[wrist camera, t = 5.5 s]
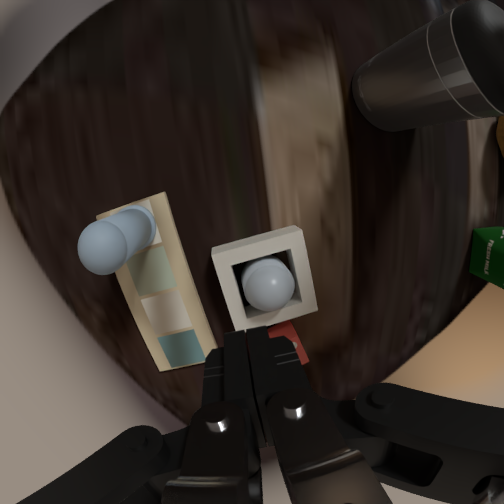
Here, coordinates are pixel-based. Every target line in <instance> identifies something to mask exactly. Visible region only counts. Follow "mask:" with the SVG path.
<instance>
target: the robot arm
mask: <svg viewBox="0 0 504 504" xmlns="http://www.w3.org/2000/svg"><path fill="white" fill-rule="evenodd" d="M352 92H353V97H354V100H355V103H356V105H357V107H358V109H359V110H360V112H361V113H362V115H363V116H364V117H365V118H366V119H367V120H368V121H369V122H370V123H371V124H372V125H374V126H376V127H377V128H379V129H382V130H384V131H389V132H395V131H402V130H407V129H412V128H419V127H424V126H430V125H436V124H443V123H450V122H457V121H464V120H472V119H480V118H488V117H498V116H504V11H503V10H502V9H501V8H499V7H498V6H497V5H495V4H493V3H492V2H490V1H487V0H471V1H468V2H466V3H464V4H462V5H460V6H458V7H456V8H454V9H453V10H451V11H449V12H447V13H445V14H443V15H441V16H440V17H438V18H436V19H435V20H433V21H431V22H429V23H428V24H426V25H424V26H422V27H421V28H419V29H417V30H416V31H414V32H412V33H411V34H409V35H407V36H406V37H404V38H403V39H401V40H399V41H398V42H396V43H395V44H393V45H392V46H390V47H388V48H387V49H385V50H384V51H382V52H381V53H379V54H378V55H376V56H375V57H373V58H372V59H370V60H369V61H367V62H366V63H364V64H363V65H361V66H360V67H359V68H358V69H357V70H356V72H355V74H354V76H353V80H352ZM246 333H247V338H246V334H245V330H239V331H233V332H228V333H224V347H221V348H215V349H212V350H211V351H210V353H209V354H208V355H207V357H206V358H205V370H204V380H203V393H202V406H201V408H200V409H198V410H197V411H196V412H195V413H194V414H193V416H192V418H191V421H190V425H189V426H187V427H185V428H183V429H181V430H178V431H175V432H172V433H168V434H165V435H161V433H160V432H159V431H158V430H157V429H156V428H153V427H151V426H146V425H141V426H135V427H131V428H129V429H127V430H125V431H124V432H122V433H121V434H120V435H118V436H117V437H116V438H114V439H113V440H112V441H110V442H109V443H107V444H106V445H105V446H103V447H102V448H100V449H99V450H98V451H96V452H95V453H94V454H92V455H91V456H89V457H88V458H86V459H85V460H84V461H82V462H81V463H79V464H78V465H76V466H75V467H73V468H72V469H71V470H69V471H68V472H66V473H65V474H63V475H61V476H60V477H58V478H57V479H55V480H54V481H52V482H51V483H49V484H47V485H46V486H44V487H43V488H41V489H40V490H38V491H36V492H35V493H33V494H31V495H30V496H28V497H26V498H25V499H23V500H21V501H20V502H18V503H17V504H263V491H262V469H261V465H260V464H261V458H260V451H259V448H263V447H267V446H266V440H265V434H266V438H267V441H268V445H269V446H273V445H274V446H275V449H276V454H277V457H278V462H279V466H280V469H281V472H282V475H283V478H284V482H285V485H286V488H287V491H288V494H289V497H290V500H291V503H292V504H393V503H392V501H391V500H390V498H389V497H388V495H387V493H386V492H385V490H384V488H383V487H382V485H381V483H384V484H387V485H389V486H392V487H395V488H398V489H401V490H404V491H407V492H410V493H413V494H416V495H420V496H423V497H427V498H430V499H434V500H438V501H442V502H446V503H450V504H504V408H499V407H493V406H487V405H482V404H476V403H471V402H466V401H461V400H457V399H452V398H447V397H443V396H439V395H435V394H431V393H426V392H423V391H419V390H415V389H411V388H407V387H403V386H400V385H396V384H391V383H377V384H373V385H370V386H368V387H366V388H364V389H363V390H362V391H361V392H360V393H359V394H358V395H357V397H356V400H345V401H333V400H327V399H324V398H322V397H320V396H319V395H318V394H317V393H315V392H314V391H313V390H312V388H311V386H310V383H309V381H308V378H307V376H306V373H305V371H304V369H303V366H302V364H301V361H300V360H299V356H298V354H297V352H296V349H295V346H294V344H293V342H292V341H291V340H289V339H288V338H287V337H285V336H284V335H283V336H278V337H274V338H270V337H269V334H268V330H267V327H266V325H264V326H259V327H254V328H249V329H246ZM247 340H248V343H247ZM263 426H264V428H263ZM264 430H265V434H264ZM380 482H381V483H380ZM124 499H125V500H124Z"/></svg>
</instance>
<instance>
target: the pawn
mask: <svg viewBox="0 0 504 504" xmlns="http://www.w3.org/2000/svg"><path fill="white" fill-rule="evenodd" d="M155 234H156V221H155V218H154V216H153V215H152V213H151V212H150V211H149V210H148V209H147V208H145V207H143V206H140V205H131V206H127V207H125V208H123V209H121V210H120V211H119V212H118V213H117V214H114V215H111V216H109V217H106V218H103V219H101V220H98V221H96V222H93V223H91V224H90V225H88V226H87V227H86V228H85V229H84V231H83V232H82V234H81V236H80V238H79V241H78V254H79V258H80V260H81V262H82V263H83V265H84V266H85V267H86V268H87V269H88V270H89V271H91V272H93V273H95V274H99V275H107V274H111V273H113V272H115V271H117V270H118V269H119V268H121V267H122V266H123V265H124V264H125V263H126V262H127V261H128V260H129V259H130V258H131V257H132V256H133V255H134V254H135V253H136V252H137V251H138V250H142V249H144V248H145V247H147V246H148V245H149V244H150V243H151V242H152V240H153V239H154V237H155Z"/></svg>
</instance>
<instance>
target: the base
mask: <svg viewBox="0 0 504 504" xmlns="http://www.w3.org/2000/svg"><path fill="white" fill-rule="evenodd" d="M284 250H286V253H287V257H288V261H289V266H290V270H291V274H292V276H293V279H294V283H295V287H294V288H295V292H293V295H292V297H291V299H290V300H289V302H288V303H287V304H286V305H285V306H284V307H282V308H281V309H279V310H276V311H263V310H259V309H256V308H255V307H253V306H252V305H249V306H245V307H244V304H243V301H242V297H241V294H240V291H239V287H238V284H237V281H236V277H235V274H234V270H233V267H232V265H234V264H238V263H241V262H245V261H249V260H252V259H256V258H259V257H263V256H266V255H270V254H273V253H277V252H280V251H284ZM211 256H212V259H213V262H214V266H215V269H216V272H217V275H218V278H219V282H220V285H221V288H222V291H223V294H224V297H225V300H226V303H227V306H228V309H229V312H230V315H231V318H232V321H233V324H234V327H235V330H236V331H239V330H245V332H246V329H249V328H254V327H259V326H264V325H266V326H269V325H272V324H276V323H279V322H283V321H286V320H289V319H292V318H296V317H299V316H302V315H305V314H308V313H311V312H315V311H318V307H317V302H316V296H315V291H314V286H313V281H312V275H311V270H310V265H309V260H308V256H307V251H306V246H305V241H304V237H303V232H302V229H300V228H298V227H297V226H295V225H292V226H288V227H285V228H281V229H277V230H274V231H270V232H267V233H263V234H259V235H256V236H252V237H248V238H245V239H241V240H238V241H234V242H231V243H227V244H224V245H220V246H216V247H213V248H212V253H211Z"/></svg>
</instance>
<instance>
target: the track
mask: <svg viewBox="0 0 504 504" xmlns="http://www.w3.org/2000/svg"><path fill="white" fill-rule="evenodd" d="M131 205H140V206H143V207H145V208H147V209H148V210H149V211H150V212H151V213H152V215H153V216H154V218H155V221H156V234H155V237H154V239H153V240H152V242H151V243H150V244H149V245H148V246H147V247H145V248H144V249H142V250H138V251H137V252H136V253H135V254H134V255H133V256H132V257H131V258H130V259H129V260H128V261H127V262H126V263H125V264H124V265H123V266H122V267H121V268H119V269H118V270H117V271H115V273H116V276H117V278H118V281H119V284H120V286H121V289H122V291H123V294H124V296H125V298H126V301H127V303H128V306H129V308H130V310H131V312H132V315H133V317H134V319H135V321H136V324H137V326H138V328H139V330H140V332H141V335H142V337H143V339H144V341H145V343H146V345H147V347H148V349H149V351H150V353H151V355H152V357H153V359H154V361H155V363H156V365H157V367H158V369H159V371H165V370H170V369H175V368H180V367H185V366H190V365H195V364H199V363H203V362H205V358H206V357H207V355H208V354H209V353H210V351H211V350H212V349H215V348H218V347H217V344H216V342H215V339H214V336H213V334H212V331H211V329H210V326H209V323H208V321H207V318H206V315H205V312H204V310H203V307H202V304H201V301H200V298H199V296H198V293H197V290H196V287H195V284H194V281H193V278H192V275H191V272H190V269H189V266H188V263H187V260H186V257H185V254H184V251H183V248H182V245H181V242H180V239H179V235H178V232H177V229H176V226H175V222H174V219H173V216H172V212H171V209H170V206H169V202H168V199H167V195H166V192H162V193H159V194H156V195H153V196H150V197H147V198H144V199H141V200H139V201H136V202H133V203H130V204H127V205H124V206H122V207H119V208H116V209H113V210H111V211H108V212H105V213H103V214H100V215H97V216H96V218H97V221H98V220H101V219H103V218H106V217H109V216H111V215H114V214H117V213H118V212H119V211H120V210H121V209H123V208H125V207H127V206H131Z"/></svg>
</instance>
